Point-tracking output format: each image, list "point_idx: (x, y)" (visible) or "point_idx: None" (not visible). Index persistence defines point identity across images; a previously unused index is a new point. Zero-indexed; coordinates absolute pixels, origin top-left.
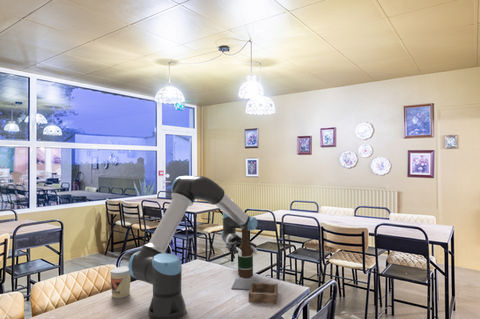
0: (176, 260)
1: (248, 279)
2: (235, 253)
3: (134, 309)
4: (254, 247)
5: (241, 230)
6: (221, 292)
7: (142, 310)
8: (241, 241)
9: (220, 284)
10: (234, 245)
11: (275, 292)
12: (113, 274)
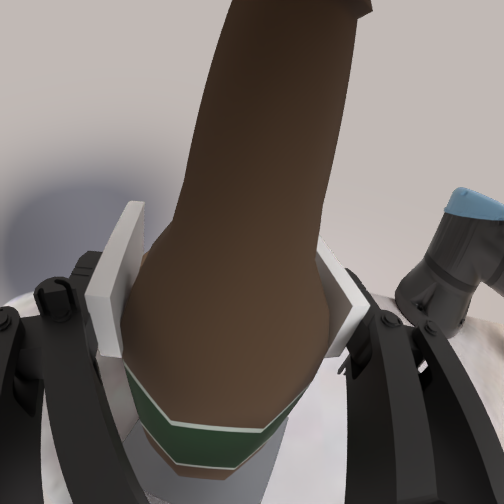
0: (462, 188)
1: (164, 498)
2: (343, 362)
3: (481, 331)
4: (113, 231)
5: (366, 7)
6: (331, 395)
7: (469, 326)
8: (321, 199)
9: (342, 478)
10: (419, 417)
11: (144, 258)
12: None
